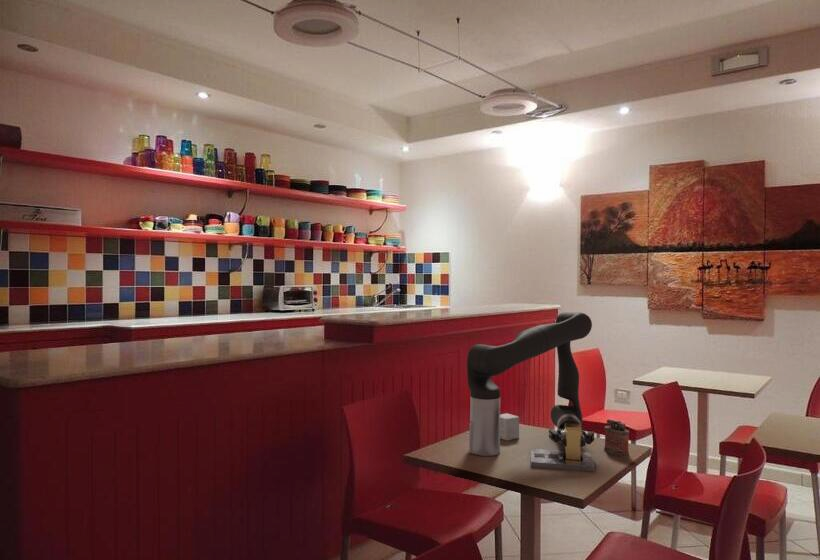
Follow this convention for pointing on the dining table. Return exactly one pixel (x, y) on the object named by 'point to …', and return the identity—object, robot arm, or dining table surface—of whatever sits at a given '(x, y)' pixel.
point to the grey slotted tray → (560, 460)
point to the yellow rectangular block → (573, 442)
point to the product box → (509, 426)
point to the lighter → (616, 438)
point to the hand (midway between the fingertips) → (573, 443)
